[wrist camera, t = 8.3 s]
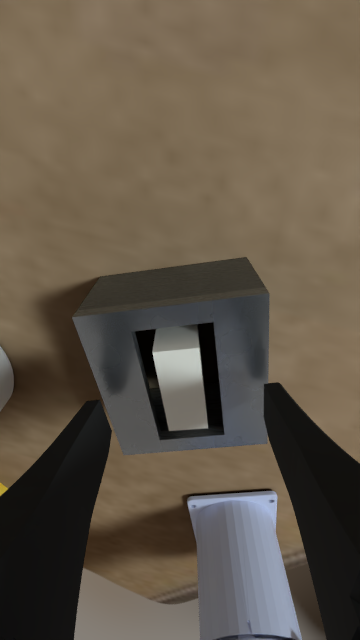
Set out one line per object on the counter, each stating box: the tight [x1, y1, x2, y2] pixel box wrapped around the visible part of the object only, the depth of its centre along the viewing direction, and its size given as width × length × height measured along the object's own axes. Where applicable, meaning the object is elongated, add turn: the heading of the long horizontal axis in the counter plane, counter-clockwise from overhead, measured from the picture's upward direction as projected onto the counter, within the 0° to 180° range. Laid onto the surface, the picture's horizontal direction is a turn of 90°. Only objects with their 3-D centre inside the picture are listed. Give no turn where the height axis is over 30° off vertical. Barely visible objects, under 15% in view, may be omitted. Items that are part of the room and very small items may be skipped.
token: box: [152, 324, 208, 431], centre depth 16 cm, size 5×2×5 cm, turn 7°
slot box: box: [72, 257, 269, 455], centre depth 16 cm, size 9×8×5 cm
